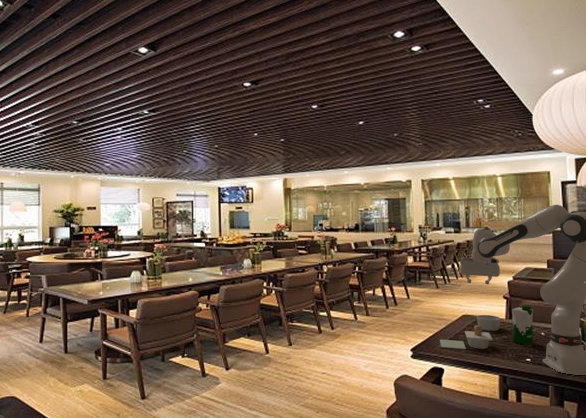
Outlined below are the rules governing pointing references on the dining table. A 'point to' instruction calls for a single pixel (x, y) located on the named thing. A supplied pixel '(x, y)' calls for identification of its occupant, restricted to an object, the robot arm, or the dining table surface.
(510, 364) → the dining table surface
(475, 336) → the cover
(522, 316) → the milk carton
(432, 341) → the dining table surface
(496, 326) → the ramekin
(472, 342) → the ramekin
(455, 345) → the mat
